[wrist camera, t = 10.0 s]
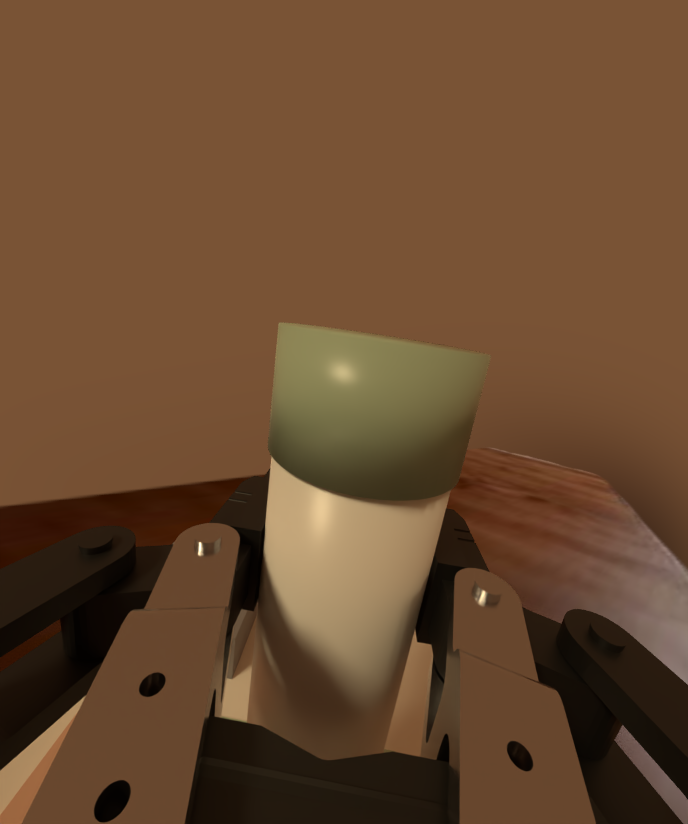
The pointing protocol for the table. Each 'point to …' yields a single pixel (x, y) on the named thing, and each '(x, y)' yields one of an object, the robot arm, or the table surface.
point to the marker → (352, 526)
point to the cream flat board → (21, 778)
